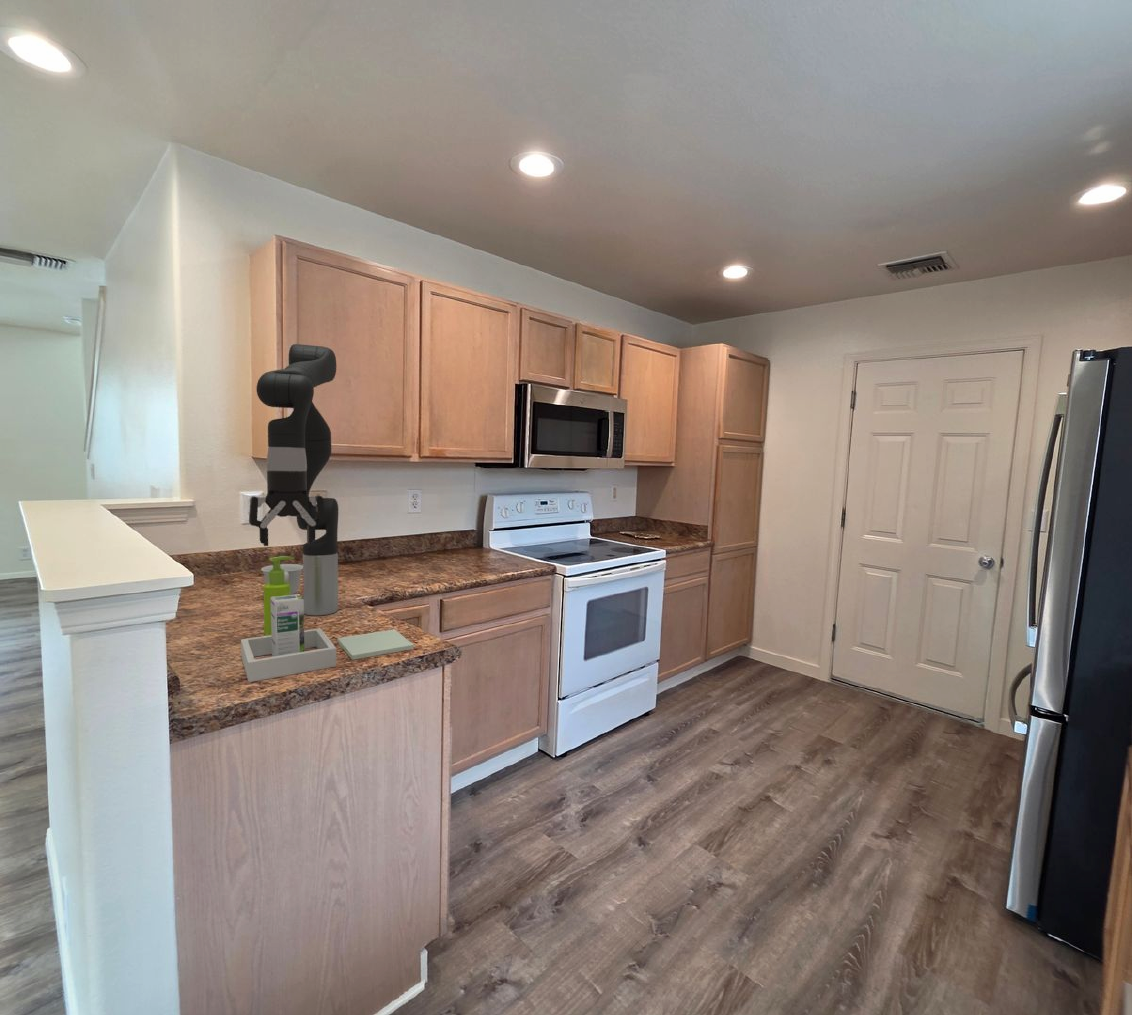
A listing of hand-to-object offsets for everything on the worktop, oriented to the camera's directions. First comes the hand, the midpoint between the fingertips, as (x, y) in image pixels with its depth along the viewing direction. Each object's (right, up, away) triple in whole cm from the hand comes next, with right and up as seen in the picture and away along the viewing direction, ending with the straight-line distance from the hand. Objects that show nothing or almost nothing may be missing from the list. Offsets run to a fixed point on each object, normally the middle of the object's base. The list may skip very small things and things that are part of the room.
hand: (288, 544), depth 117 cm
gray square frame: (-1, -26, +2) cm, 26 cm away
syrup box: (-1, -26, +2) cm, 26 cm away
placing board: (+14, -25, +14) cm, 32 cm away
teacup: (-29, -21, +53) cm, 64 cm away
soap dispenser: (-12, -25, +19) cm, 33 cm away
